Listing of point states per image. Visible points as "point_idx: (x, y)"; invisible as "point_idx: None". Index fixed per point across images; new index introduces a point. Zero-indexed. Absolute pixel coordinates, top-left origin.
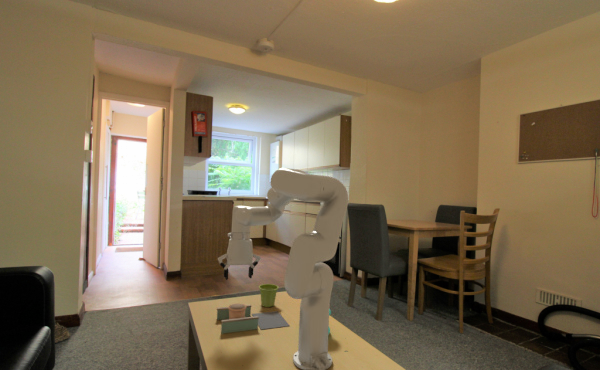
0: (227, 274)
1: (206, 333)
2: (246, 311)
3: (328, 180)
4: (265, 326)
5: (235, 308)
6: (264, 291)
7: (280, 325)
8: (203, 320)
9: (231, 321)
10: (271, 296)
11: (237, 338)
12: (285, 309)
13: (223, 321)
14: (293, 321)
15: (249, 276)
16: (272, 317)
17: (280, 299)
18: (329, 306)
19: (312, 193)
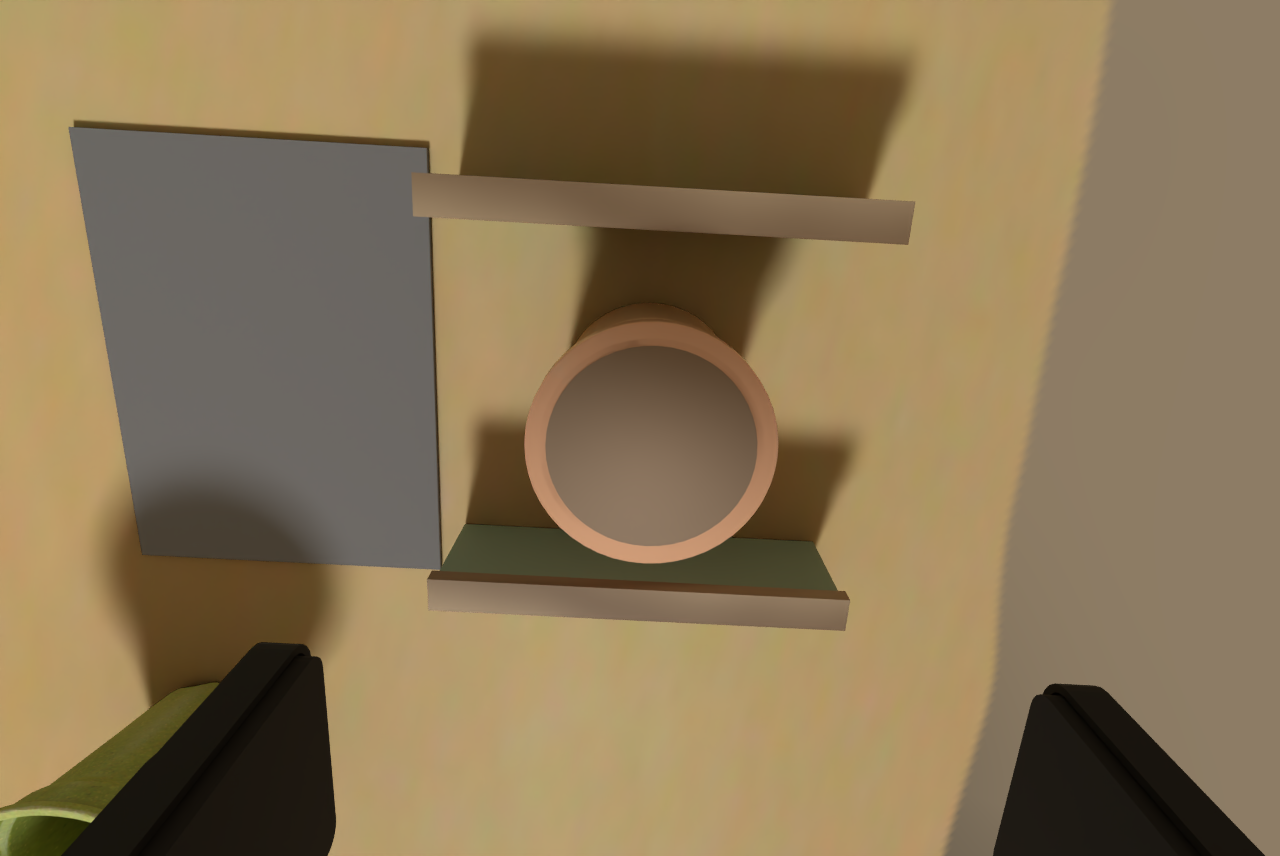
0: (1180, 805)
1: (999, 265)
2: (500, 552)
3: None
4: (360, 204)
5: (697, 385)
6: None
7: (180, 169)
8: (939, 572)
9: (783, 194)
10: (116, 754)
11: (732, 19)
12: (47, 578)
13: (889, 201)
14: (5, 240)
15: (310, 734)
16: (232, 411)
17: None
18: None
19: None
